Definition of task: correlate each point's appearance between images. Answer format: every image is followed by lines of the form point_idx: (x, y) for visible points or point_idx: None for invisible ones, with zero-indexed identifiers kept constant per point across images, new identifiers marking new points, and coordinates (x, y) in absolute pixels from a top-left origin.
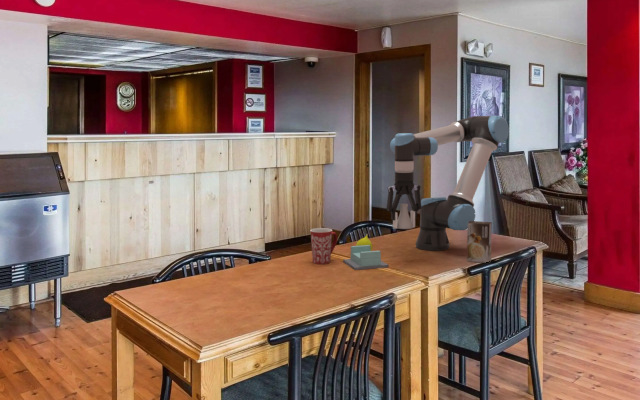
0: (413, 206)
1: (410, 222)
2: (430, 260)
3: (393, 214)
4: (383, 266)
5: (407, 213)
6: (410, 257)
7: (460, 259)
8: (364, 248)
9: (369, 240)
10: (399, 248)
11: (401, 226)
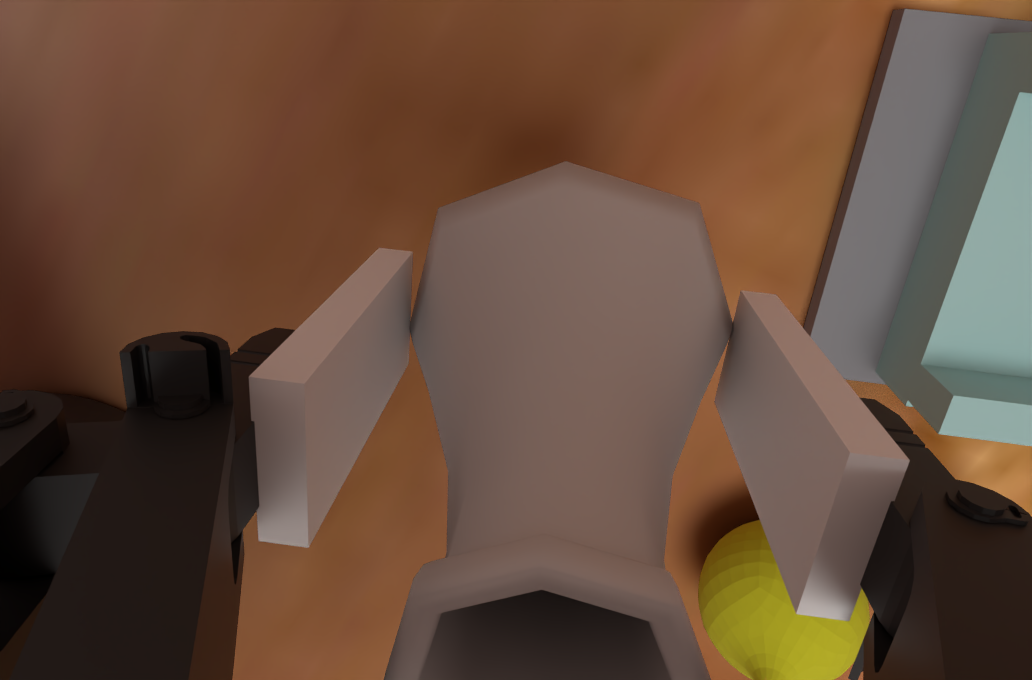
0: (220, 487)
1: (475, 256)
2: (314, 105)
3: (921, 476)
4: (960, 14)
5: (504, 392)
6: None
7: (4, 12)
8: (1016, 392)
9: (751, 626)
10: (368, 594)
11: (697, 242)
